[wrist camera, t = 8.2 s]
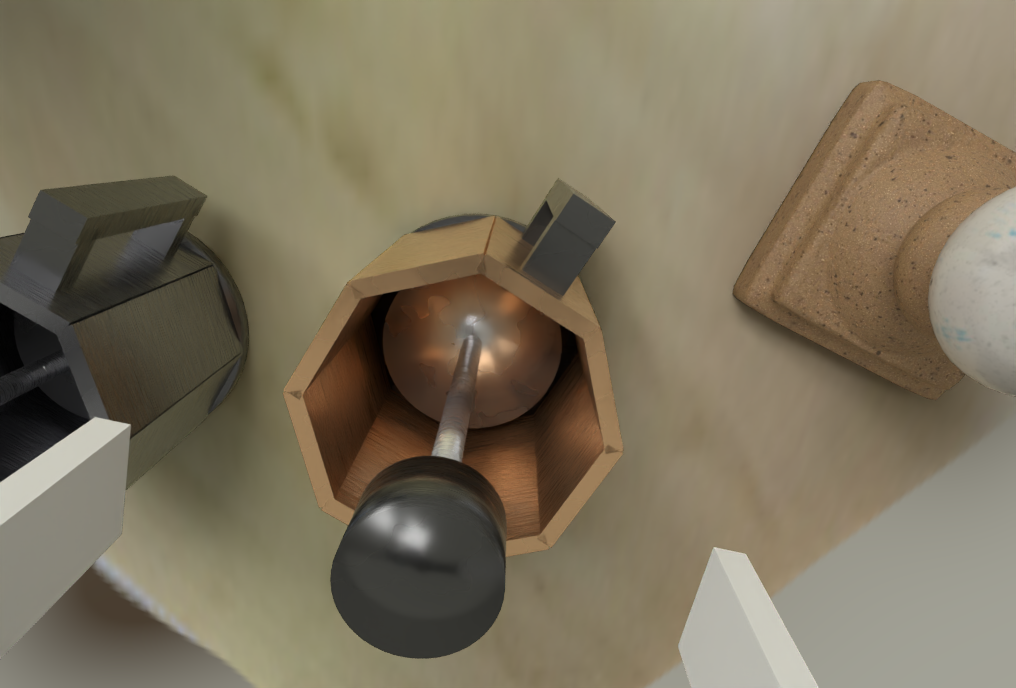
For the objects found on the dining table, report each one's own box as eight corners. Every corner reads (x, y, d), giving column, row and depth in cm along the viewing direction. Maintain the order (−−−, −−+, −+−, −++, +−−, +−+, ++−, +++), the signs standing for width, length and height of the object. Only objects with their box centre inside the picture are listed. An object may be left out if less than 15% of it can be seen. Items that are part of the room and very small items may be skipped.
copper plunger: (354, 364, 33) (158, 631, 15) (444, 218, 31) (344, 325, 13) (499, 451, 34) (477, 796, 16) (595, 315, 32) (690, 536, 14)
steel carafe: (-11, 355, 35) (-266, 460, 24) (100, 115, 32) (-133, 102, 21) (188, 467, 37) (38, 615, 25) (314, 248, 34) (207, 304, 22)
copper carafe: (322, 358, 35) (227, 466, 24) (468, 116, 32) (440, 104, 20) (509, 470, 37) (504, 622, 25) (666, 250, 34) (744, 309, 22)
